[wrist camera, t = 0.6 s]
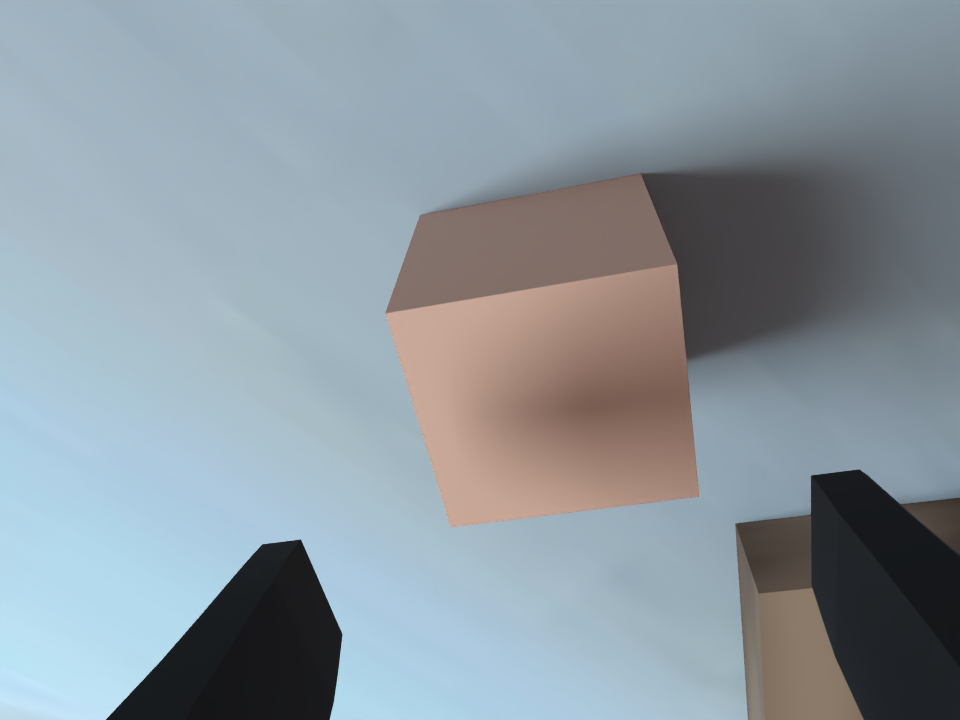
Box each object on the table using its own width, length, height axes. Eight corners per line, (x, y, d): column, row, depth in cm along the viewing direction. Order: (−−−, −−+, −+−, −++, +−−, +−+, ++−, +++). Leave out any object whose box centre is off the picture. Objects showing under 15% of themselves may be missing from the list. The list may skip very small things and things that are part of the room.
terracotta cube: (640, 173, 17) (677, 264, 13) (662, 365, 19) (699, 496, 15) (420, 214, 18) (385, 313, 13) (468, 394, 20) (450, 527, 16)
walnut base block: (1116, 467, 21) (1200, 547, 18) (1059, 705, 26) (1118, 795, 23) (731, 513, 22) (758, 593, 20) (746, 729, 27) (769, 816, 24)
